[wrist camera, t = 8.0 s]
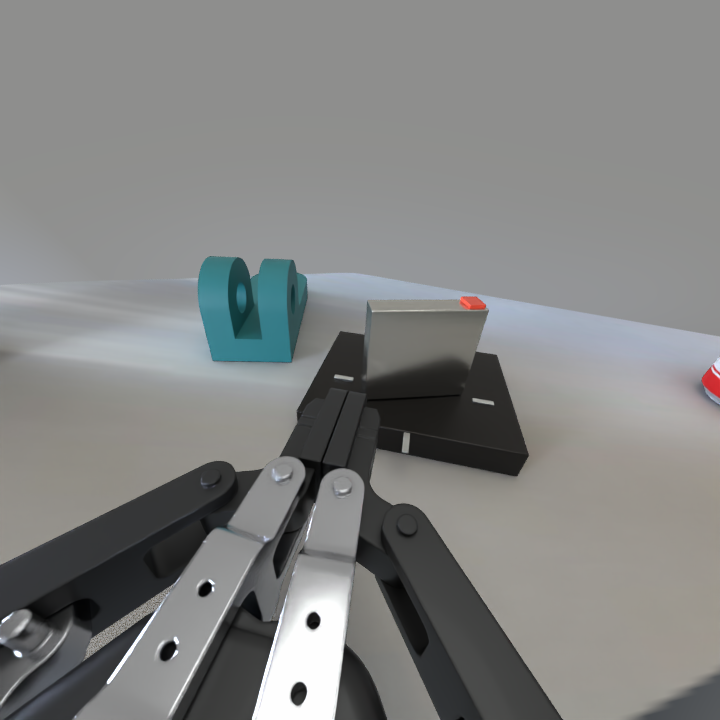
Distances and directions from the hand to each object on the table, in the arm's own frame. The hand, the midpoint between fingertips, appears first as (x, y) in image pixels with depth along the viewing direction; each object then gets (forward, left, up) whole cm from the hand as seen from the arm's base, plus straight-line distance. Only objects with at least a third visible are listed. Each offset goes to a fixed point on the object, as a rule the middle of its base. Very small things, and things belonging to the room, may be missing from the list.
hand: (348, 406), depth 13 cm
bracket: (-13, +20, -7) cm, 25 cm away
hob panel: (+3, +10, -7) cm, 12 cm away
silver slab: (+3, +8, -5) cm, 10 cm away
